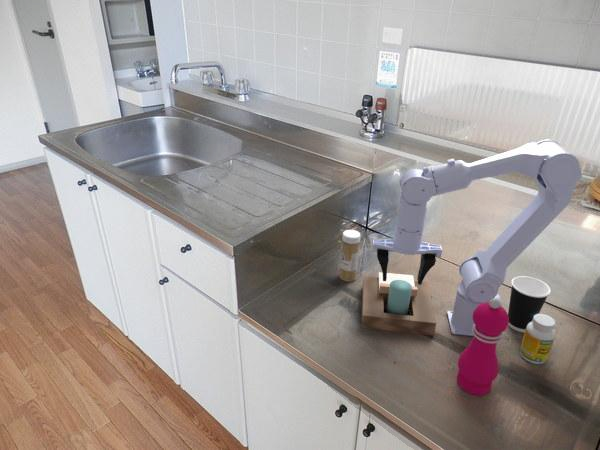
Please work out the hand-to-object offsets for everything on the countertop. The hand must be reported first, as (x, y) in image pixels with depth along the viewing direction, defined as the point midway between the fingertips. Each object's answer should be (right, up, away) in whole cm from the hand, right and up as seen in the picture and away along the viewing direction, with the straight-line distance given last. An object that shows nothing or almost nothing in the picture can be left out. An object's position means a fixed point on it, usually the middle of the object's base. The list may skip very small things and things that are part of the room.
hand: (401, 280), depth 101 cm
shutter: (+1, -3, +10) cm, 10 cm away
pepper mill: (+11, -19, -13) cm, 25 cm away
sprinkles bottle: (-10, -2, +19) cm, 22 cm away
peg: (0, -9, +5) cm, 10 cm away
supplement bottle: (+26, -15, -6) cm, 31 cm away
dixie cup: (+28, -11, +3) cm, 30 cm away
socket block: (0, -8, +7) cm, 11 cm away
